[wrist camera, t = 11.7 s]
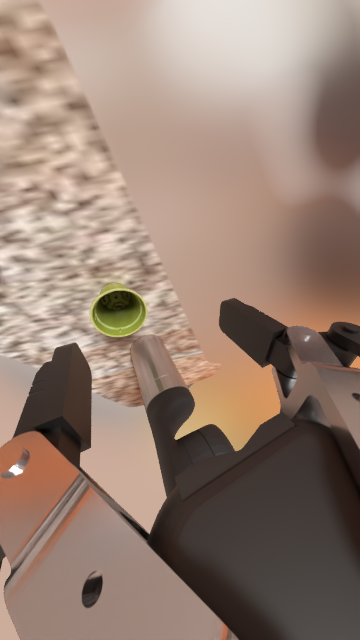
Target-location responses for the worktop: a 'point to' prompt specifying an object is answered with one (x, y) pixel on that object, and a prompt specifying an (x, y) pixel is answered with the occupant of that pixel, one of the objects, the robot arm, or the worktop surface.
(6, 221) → the worktop surface
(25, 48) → the worktop surface
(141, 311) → the plant pot
